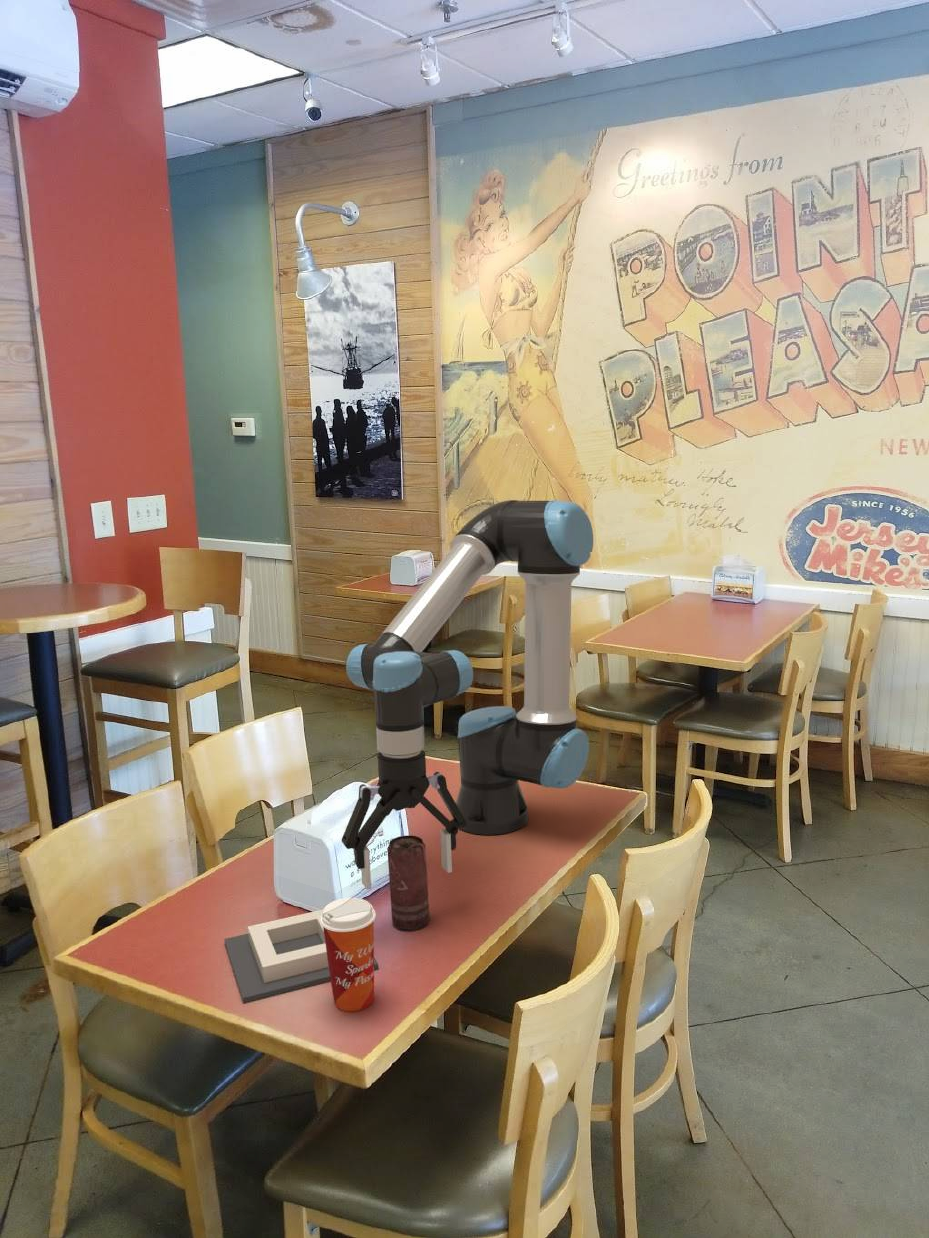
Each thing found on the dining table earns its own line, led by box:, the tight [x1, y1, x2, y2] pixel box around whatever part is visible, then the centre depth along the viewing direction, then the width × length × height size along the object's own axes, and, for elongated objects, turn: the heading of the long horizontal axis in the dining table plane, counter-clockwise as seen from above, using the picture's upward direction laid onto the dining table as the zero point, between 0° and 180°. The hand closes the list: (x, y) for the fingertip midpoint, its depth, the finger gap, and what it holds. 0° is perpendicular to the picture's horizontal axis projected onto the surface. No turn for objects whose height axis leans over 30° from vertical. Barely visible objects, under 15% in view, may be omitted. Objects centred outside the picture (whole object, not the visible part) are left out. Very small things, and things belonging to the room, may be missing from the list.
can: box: [386, 835, 430, 932], centre depth 156 cm, size 6×6×14 cm
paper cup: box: [320, 897, 377, 1013], centre depth 135 cm, size 8×8×14 cm
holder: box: [247, 908, 329, 983], centre depth 148 cm, size 13×13×2 cm
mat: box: [223, 933, 379, 1004], centre depth 149 cm, size 20×18×1 cm
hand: (407, 877), depth 156 cm, fingers open, 13 cm apart
